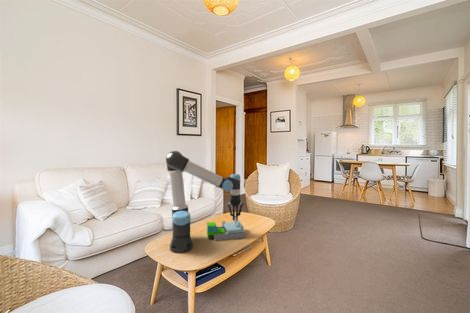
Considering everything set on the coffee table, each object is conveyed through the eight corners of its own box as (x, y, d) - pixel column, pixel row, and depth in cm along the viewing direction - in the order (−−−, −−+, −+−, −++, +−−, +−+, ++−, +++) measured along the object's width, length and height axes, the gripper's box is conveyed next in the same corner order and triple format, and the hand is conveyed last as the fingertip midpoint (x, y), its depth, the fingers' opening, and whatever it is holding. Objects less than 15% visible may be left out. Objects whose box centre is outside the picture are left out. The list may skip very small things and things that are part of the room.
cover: (226, 238, 167) (226, 228, 166) (221, 229, 185) (221, 219, 185) (243, 237, 170) (243, 226, 170) (237, 228, 188) (237, 218, 188)
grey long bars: (214, 240, 165) (214, 234, 165) (211, 232, 181) (211, 227, 181) (245, 237, 170) (245, 232, 170) (240, 229, 186) (240, 224, 186)
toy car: (225, 239, 168) (226, 225, 167) (207, 240, 165) (207, 226, 165) (223, 233, 178) (224, 221, 177) (206, 234, 175) (207, 222, 175)
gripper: (228, 195, 170) (227, 226, 171) (244, 195, 172) (244, 225, 174) (226, 193, 177) (225, 223, 178) (242, 193, 180) (242, 222, 181)
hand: (235, 224), depth 176 cm, fingers closed
